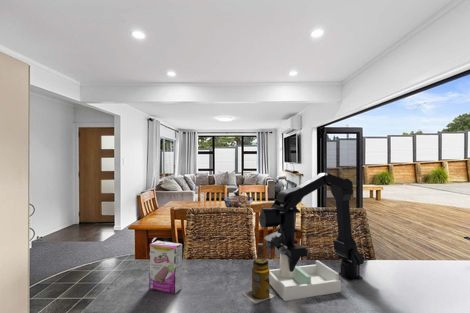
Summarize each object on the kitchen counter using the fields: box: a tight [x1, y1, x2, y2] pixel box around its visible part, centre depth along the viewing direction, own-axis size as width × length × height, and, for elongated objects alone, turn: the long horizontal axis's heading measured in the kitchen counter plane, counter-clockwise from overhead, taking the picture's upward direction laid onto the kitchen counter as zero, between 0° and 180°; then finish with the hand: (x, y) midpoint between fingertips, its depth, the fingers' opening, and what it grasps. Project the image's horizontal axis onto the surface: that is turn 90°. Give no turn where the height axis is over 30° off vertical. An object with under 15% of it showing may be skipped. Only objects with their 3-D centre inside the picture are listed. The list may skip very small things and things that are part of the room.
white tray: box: [269, 260, 342, 302], centre depth 94 cm, size 22×15×6 cm
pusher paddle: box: [292, 264, 311, 285], centre depth 94 cm, size 3×12×5 cm, turn 15°
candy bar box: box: [148, 240, 183, 295], centre depth 92 cm, size 11×5×16 cm, turn 71°
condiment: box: [242, 257, 275, 304], centre depth 88 cm, size 7×8×12 cm
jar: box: [278, 247, 295, 278], centre depth 93 cm, size 6×6×9 cm
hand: (287, 268), depth 93 cm, fingers closed on jar, 5 cm apart
